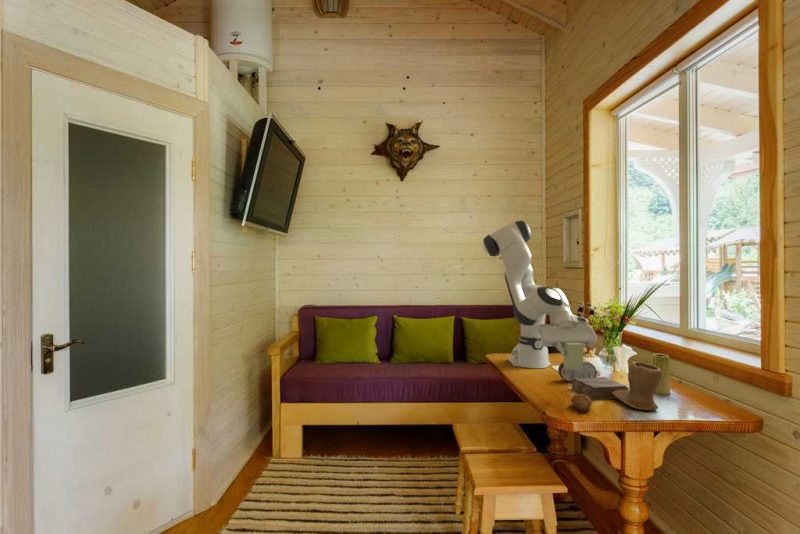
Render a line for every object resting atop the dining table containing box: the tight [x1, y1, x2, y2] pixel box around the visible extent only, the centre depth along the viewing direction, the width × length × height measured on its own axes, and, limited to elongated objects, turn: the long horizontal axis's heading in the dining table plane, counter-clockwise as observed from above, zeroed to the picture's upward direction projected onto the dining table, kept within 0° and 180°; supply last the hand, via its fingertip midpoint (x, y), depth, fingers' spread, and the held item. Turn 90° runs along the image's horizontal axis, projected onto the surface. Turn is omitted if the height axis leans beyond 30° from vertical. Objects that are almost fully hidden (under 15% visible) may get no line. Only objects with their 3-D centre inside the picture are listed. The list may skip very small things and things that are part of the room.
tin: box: [557, 360, 598, 383], centre depth 180 cm, size 15×3×8 cm, turn 84°
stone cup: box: [612, 360, 662, 411], centre depth 149 cm, size 15×12×15 cm
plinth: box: [571, 376, 629, 400], centre depth 164 cm, size 14×14×4 cm
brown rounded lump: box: [570, 393, 593, 414], centre depth 147 cm, size 14×7×5 cm, turn 160°
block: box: [562, 342, 584, 370], centre depth 158 cm, size 5×5×9 cm
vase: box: [652, 353, 671, 396], centre depth 164 cm, size 6×6×14 cm
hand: (573, 354), depth 157 cm, fingers closed on block, 5 cm apart
